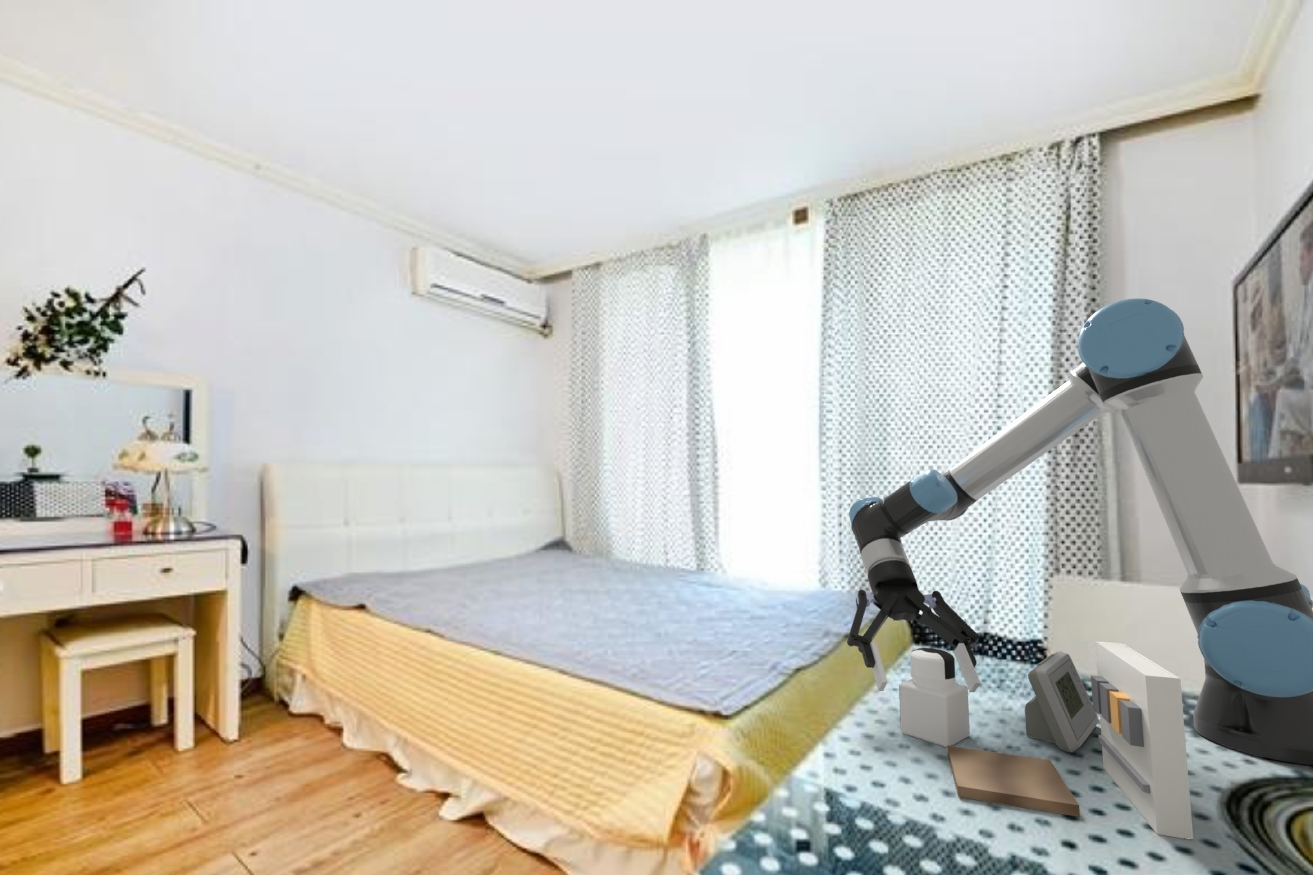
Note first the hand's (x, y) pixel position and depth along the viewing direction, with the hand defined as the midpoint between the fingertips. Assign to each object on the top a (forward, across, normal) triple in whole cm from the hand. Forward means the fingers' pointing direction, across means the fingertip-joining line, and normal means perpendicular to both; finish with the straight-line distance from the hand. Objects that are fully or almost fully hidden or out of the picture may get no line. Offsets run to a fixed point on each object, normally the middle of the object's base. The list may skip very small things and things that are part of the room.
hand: (928, 687), depth 88 cm
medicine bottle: (+5, -1, -5) cm, 7 cm away
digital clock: (+5, -20, -5) cm, 21 cm away
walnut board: (+15, -3, +6) cm, 16 cm away
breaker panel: (+18, -16, +9) cm, 26 cm away
